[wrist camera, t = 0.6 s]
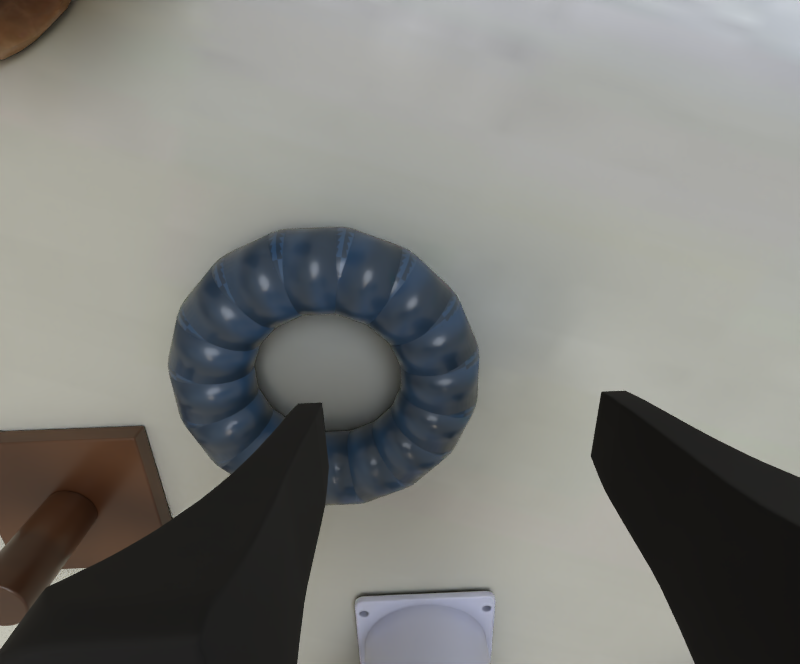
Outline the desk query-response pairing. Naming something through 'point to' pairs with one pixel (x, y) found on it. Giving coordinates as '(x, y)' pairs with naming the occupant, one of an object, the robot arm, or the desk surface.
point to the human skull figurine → (26, 22)
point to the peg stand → (71, 504)
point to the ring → (313, 295)
